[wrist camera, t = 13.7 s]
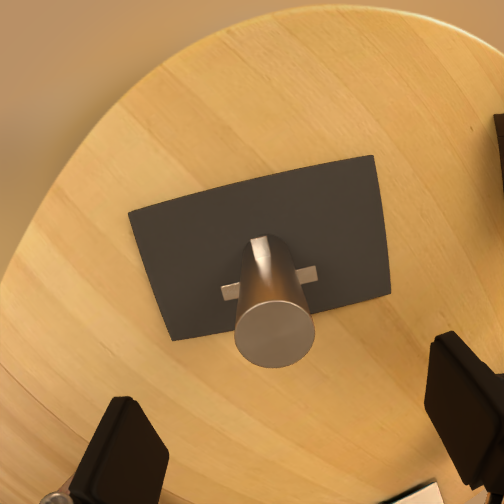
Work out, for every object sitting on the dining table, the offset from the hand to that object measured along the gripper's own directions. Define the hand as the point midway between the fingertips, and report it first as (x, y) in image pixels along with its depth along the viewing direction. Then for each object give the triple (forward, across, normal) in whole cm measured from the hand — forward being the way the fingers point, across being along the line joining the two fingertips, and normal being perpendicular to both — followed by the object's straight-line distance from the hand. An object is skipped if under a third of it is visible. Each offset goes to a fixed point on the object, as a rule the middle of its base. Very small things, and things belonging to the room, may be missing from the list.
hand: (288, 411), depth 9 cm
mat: (+18, 0, +1) cm, 18 cm away
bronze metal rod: (+17, 0, +1) cm, 17 cm away
